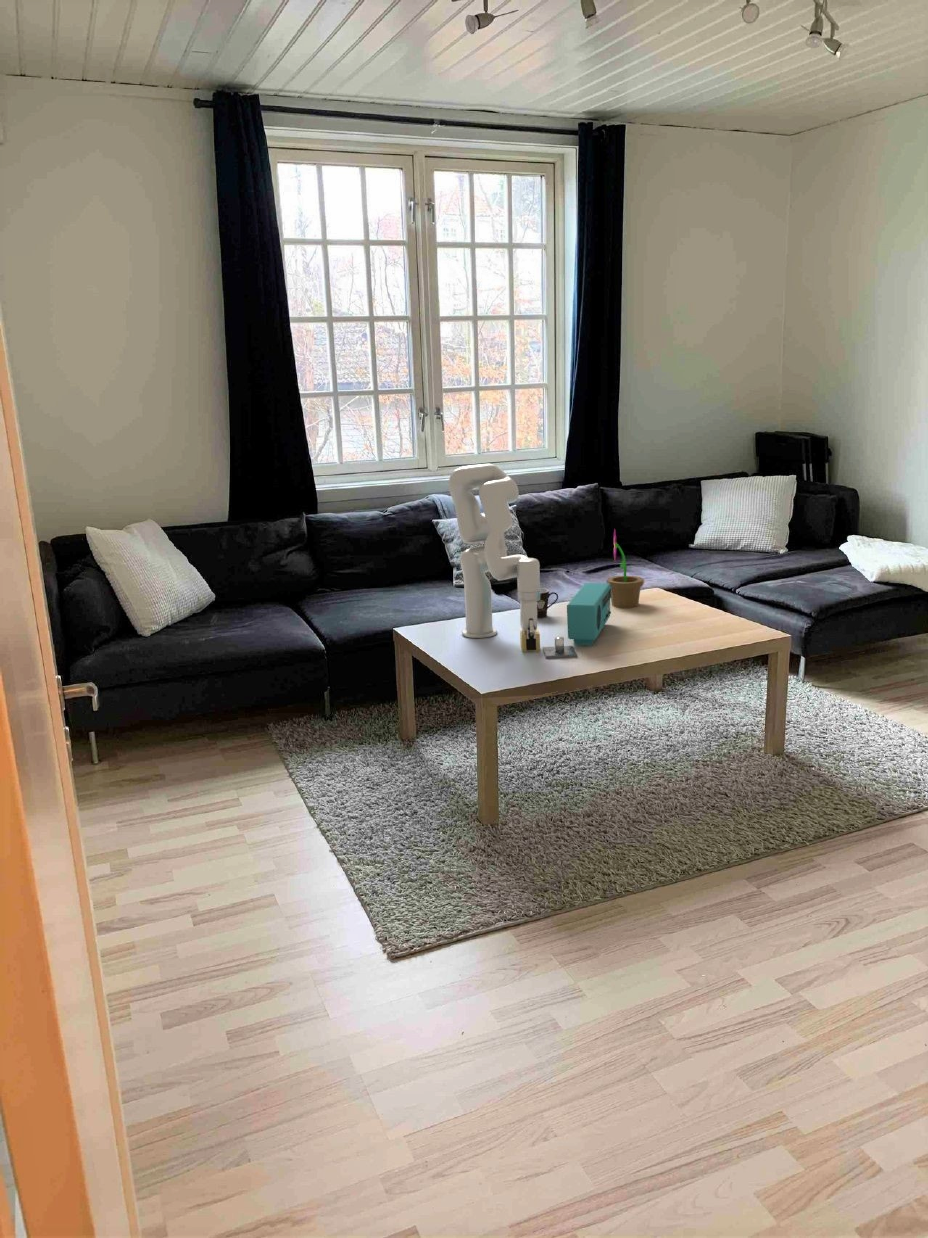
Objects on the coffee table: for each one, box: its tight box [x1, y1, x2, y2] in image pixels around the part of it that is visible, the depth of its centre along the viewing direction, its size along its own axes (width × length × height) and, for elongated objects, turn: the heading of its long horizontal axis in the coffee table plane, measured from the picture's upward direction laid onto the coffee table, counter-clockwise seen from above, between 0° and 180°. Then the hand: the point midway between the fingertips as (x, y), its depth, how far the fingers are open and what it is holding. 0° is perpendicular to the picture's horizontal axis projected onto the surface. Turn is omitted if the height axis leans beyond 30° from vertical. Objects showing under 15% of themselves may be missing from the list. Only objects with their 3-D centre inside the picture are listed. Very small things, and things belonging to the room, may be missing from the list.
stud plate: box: [542, 636, 578, 660], centre depth 315 cm, size 10×10×5 cm
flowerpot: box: [606, 528, 645, 609], centre depth 371 cm, size 14×14×30 cm
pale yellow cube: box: [519, 628, 541, 653], centre depth 321 cm, size 6×6×6 cm
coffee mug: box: [537, 587, 559, 619], centre depth 362 cm, size 12×9×10 cm
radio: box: [566, 582, 612, 647], centre depth 334 cm, size 34×10×15 cm, turn 163°
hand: (530, 646), depth 322 cm, fingers closed on pale yellow cube, 6 cm apart
